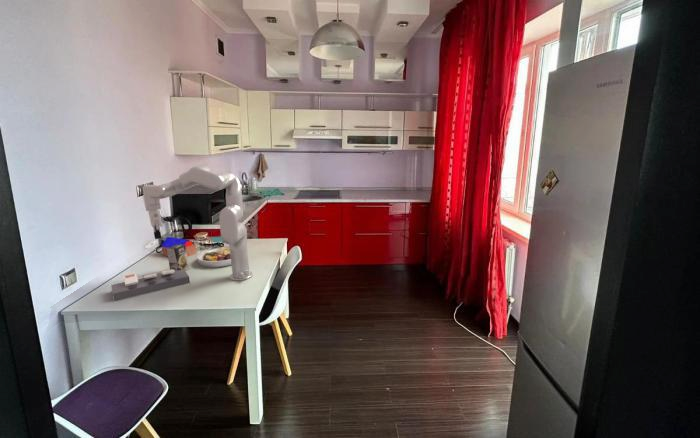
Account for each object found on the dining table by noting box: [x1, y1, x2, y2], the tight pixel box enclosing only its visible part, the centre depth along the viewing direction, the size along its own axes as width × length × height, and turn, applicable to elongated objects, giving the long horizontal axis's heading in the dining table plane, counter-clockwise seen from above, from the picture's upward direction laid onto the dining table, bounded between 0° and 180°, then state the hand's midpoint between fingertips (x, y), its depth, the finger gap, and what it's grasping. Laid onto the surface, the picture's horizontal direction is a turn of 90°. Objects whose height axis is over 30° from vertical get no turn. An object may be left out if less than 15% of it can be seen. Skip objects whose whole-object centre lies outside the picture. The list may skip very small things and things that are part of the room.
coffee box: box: [167, 244, 190, 272], centre depth 222 cm, size 9×6×16 cm
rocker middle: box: [142, 272, 158, 280], centre depth 202 cm, size 8×6×2 cm
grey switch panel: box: [111, 269, 191, 302], centre depth 201 cm, size 14×36×4 cm, turn 125°
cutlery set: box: [209, 235, 225, 250], centre depth 280 cm, size 20×30×2 cm, turn 7°
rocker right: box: [160, 269, 175, 276], centre depth 207 cm, size 8×6×2 cm
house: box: [161, 236, 197, 258], centre depth 256 cm, size 12×20×12 cm, turn 65°
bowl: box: [197, 246, 231, 268], centre depth 241 cm, size 30×30×8 cm
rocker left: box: [122, 273, 139, 286], centre depth 197 cm, size 8×6×2 cm
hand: (158, 238), depth 212 cm, fingers closed
